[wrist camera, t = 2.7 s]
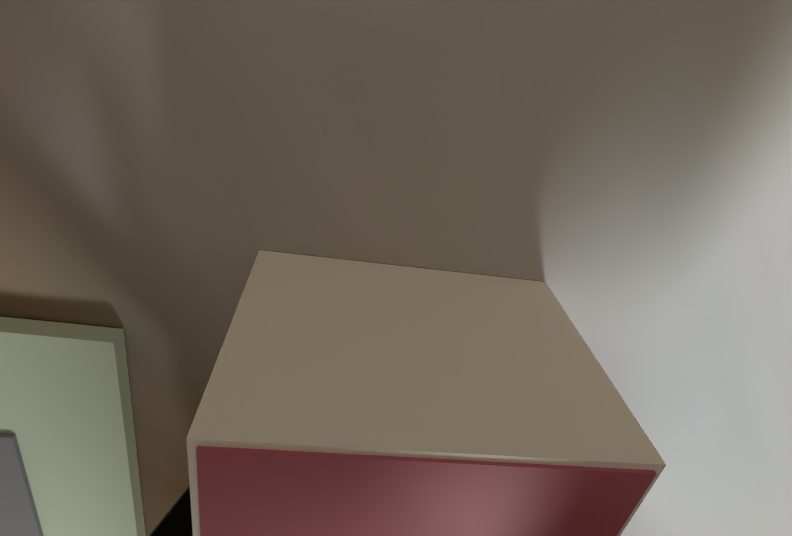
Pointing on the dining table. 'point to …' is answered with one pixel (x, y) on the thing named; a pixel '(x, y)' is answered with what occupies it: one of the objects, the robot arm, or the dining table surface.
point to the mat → (66, 432)
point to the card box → (409, 411)
